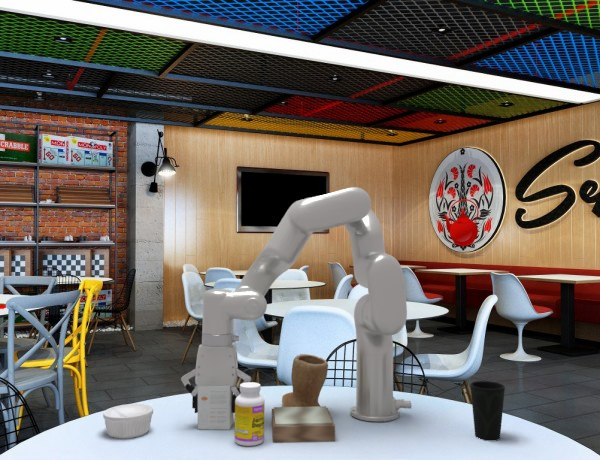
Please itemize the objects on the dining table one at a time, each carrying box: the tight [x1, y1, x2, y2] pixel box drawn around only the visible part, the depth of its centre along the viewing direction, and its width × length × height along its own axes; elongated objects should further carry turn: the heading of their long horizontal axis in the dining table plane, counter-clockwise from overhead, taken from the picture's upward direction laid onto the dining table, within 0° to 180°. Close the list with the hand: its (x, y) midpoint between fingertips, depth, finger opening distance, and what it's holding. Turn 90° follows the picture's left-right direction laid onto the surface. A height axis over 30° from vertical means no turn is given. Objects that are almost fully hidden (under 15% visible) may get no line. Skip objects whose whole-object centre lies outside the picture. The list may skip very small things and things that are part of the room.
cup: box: [469, 380, 506, 441], centre depth 134 cm, size 8×8×12 cm
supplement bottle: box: [234, 381, 265, 447], centre depth 130 cm, size 7×7×13 cm
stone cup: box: [281, 353, 329, 407], centre depth 153 cm, size 15×12×15 cm
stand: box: [271, 405, 336, 443], centre depth 137 cm, size 14×14×4 cm
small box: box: [197, 385, 235, 431], centre depth 140 cm, size 8×6×10 cm
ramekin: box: [102, 403, 154, 440], centre depth 136 cm, size 11×11×5 cm
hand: (215, 411), depth 140 cm, fingers closed on small box, 8 cm apart
